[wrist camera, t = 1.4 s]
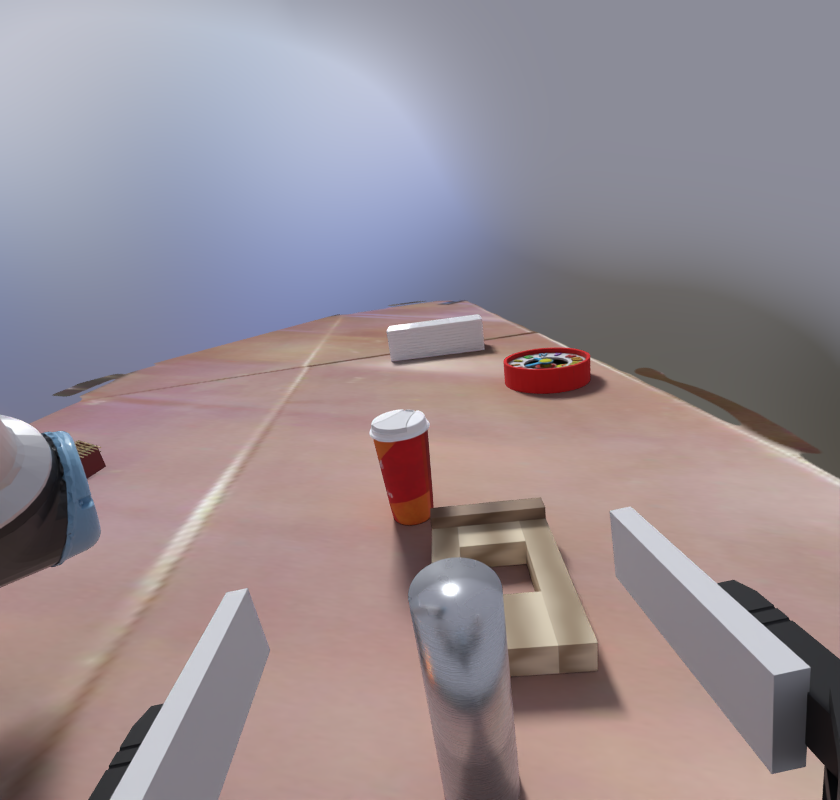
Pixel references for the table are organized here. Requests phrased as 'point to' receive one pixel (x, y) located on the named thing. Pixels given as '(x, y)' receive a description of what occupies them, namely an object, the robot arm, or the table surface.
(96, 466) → the toy houses
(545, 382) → the toy clock
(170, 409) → the table surface
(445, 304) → the table surface
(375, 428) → the paper cup
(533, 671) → the frame
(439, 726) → the brushed metal cylinder
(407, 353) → the stack of papers
